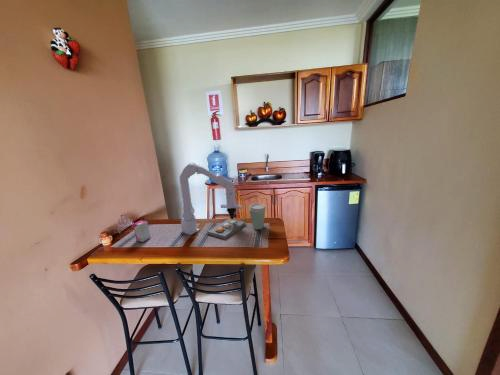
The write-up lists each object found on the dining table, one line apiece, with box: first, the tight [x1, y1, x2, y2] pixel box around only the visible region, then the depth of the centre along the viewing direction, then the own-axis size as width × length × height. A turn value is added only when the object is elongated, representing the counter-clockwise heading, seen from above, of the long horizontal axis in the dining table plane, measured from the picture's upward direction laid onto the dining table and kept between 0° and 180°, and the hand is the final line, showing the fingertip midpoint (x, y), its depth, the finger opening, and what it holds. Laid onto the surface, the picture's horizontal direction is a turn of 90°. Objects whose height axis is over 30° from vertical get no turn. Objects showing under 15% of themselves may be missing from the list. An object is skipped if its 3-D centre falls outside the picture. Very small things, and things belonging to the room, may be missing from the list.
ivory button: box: [224, 223, 230, 229], centre depth 126 cm, size 4×4×2 cm
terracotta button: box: [217, 227, 223, 233], centre depth 120 cm, size 4×4×2 cm
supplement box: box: [132, 220, 151, 243], centre depth 119 cm, size 6×6×12 cm
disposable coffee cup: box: [248, 203, 266, 230], centre depth 124 cm, size 11×11×15 cm
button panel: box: [206, 218, 246, 240], centre depth 126 cm, size 14×21×2 cm, turn 148°
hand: (232, 218), depth 130 cm, fingers closed
